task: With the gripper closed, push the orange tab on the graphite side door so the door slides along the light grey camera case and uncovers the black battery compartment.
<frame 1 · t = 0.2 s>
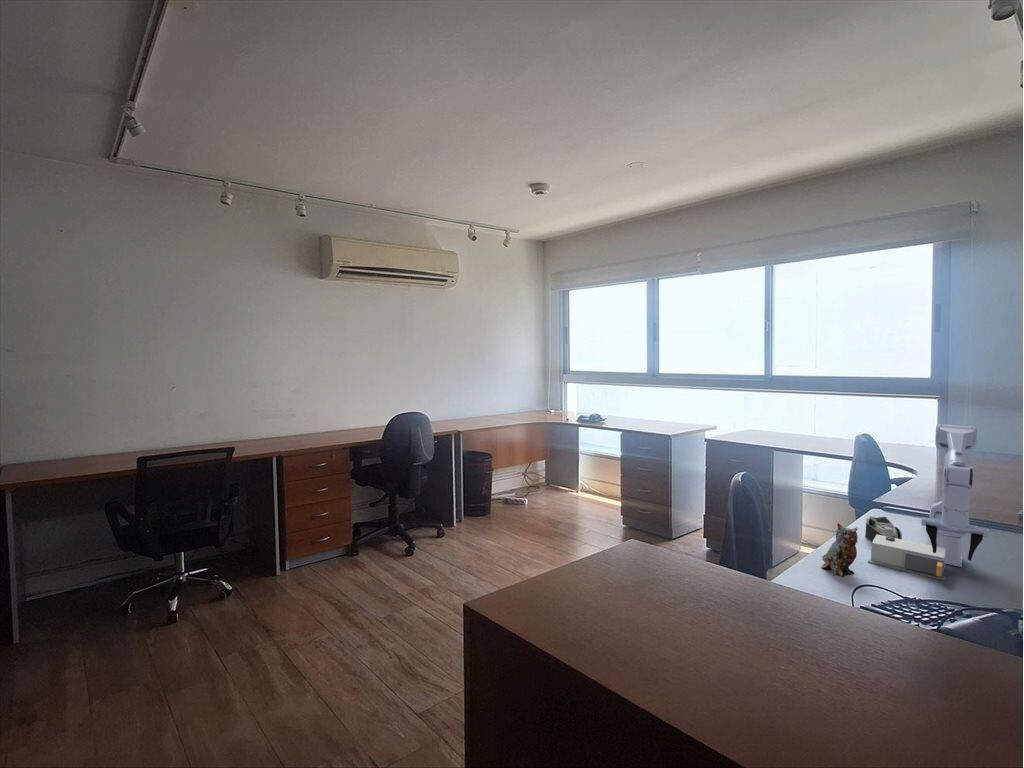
hand: (951, 555, 153), 10 cm above the table, tool pointing down, fingers open, 7 cm apart
camera case: (907, 563, 170), on the table
figurine: (839, 572, 164), on the table
side door: (923, 566, 161), point 3 cm above the table, slide at 0.0 cm
camera: (885, 546, 186), on the table
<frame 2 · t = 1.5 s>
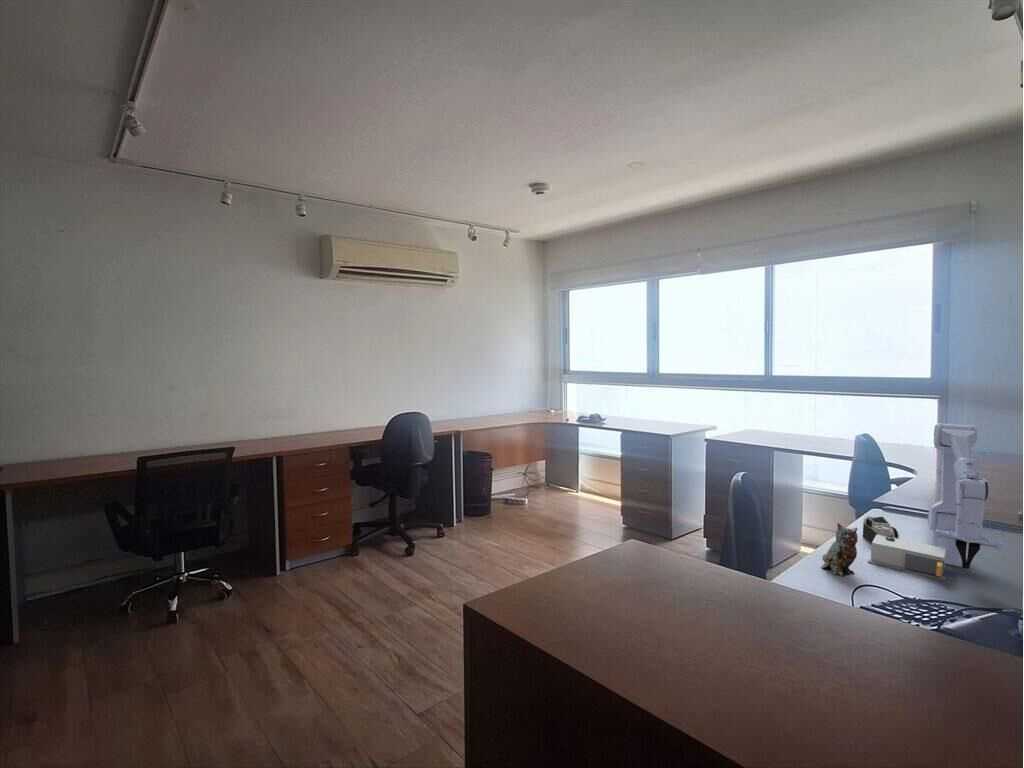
hand: (965, 567, 154), 6 cm above the table, tool pointing down, fingers closed
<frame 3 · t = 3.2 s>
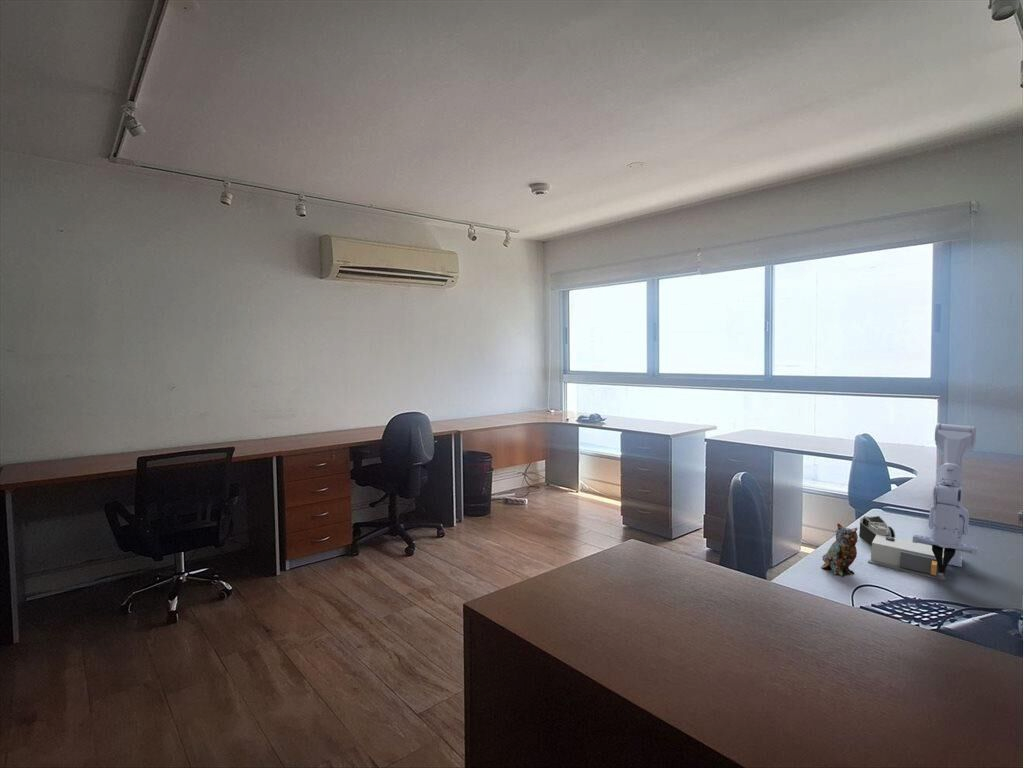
hand: (941, 572, 158), 3 cm above the table, tool pointing down, fingers closed
side door: (918, 564, 162), point 3 cm above the table, slide at 1.2 cm, touching gripper
camera: (878, 546, 186), on the table
everything else where it was.
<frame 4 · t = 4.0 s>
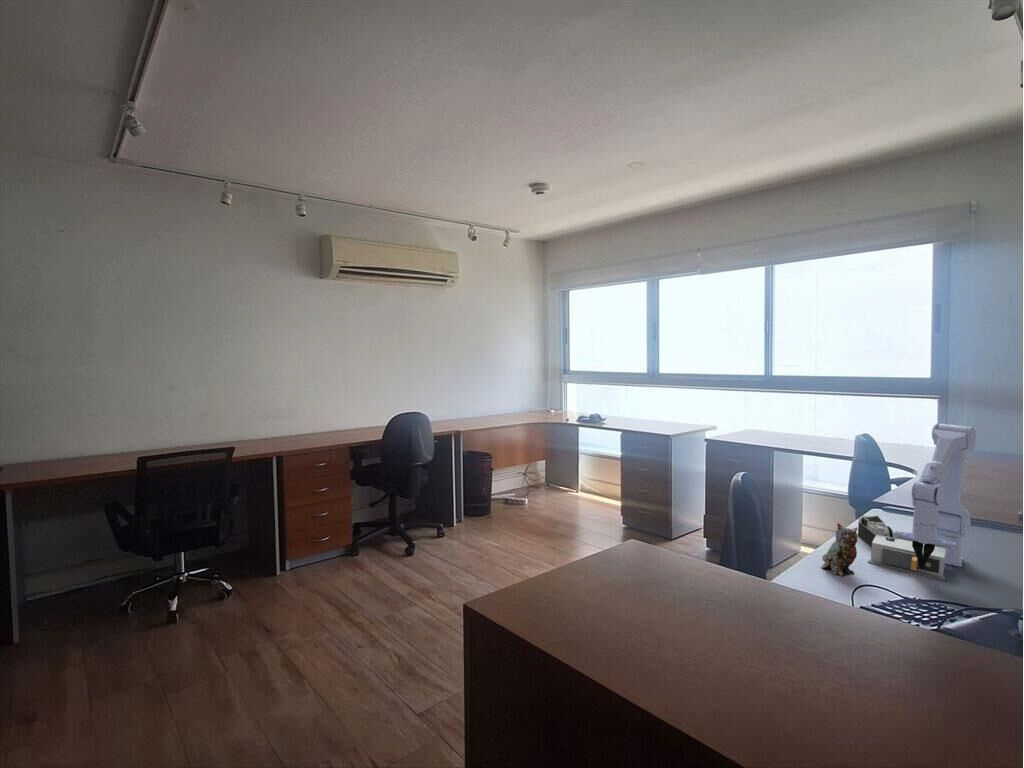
hand: (921, 567, 161), 3 cm above the table, tool pointing down, fingers closed
side door: (899, 560, 165), point 3 cm above the table, slide at 5.9 cm, touching gripper
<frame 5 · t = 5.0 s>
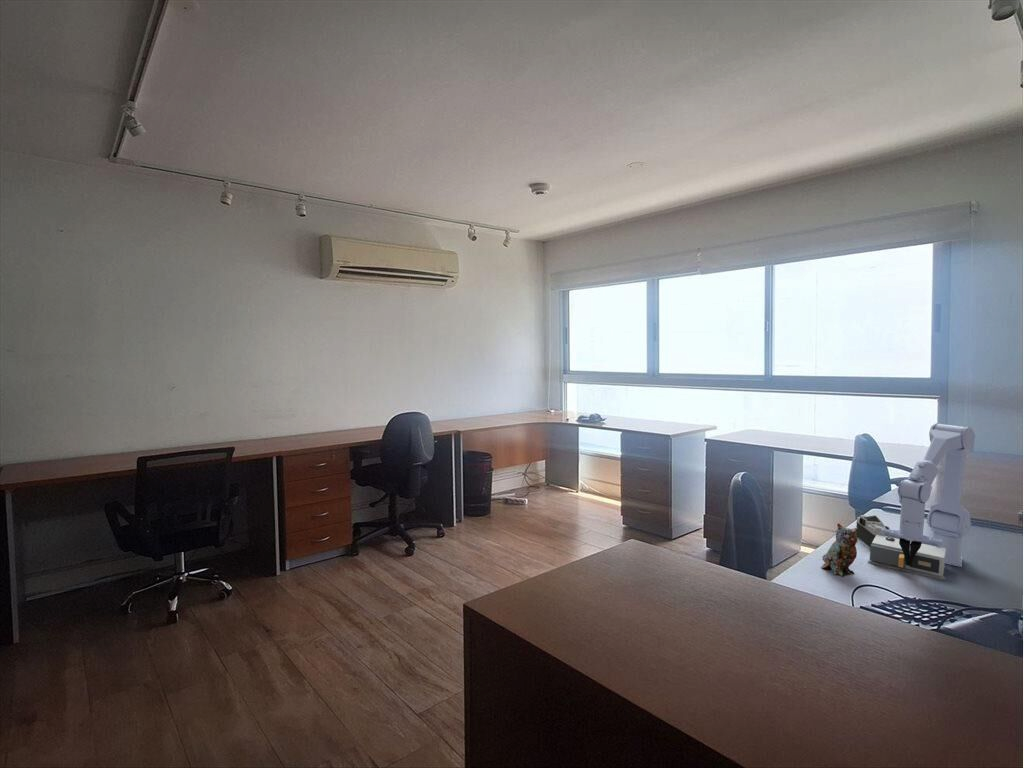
hand: (908, 564, 163), 3 cm above the table, tool pointing down, fingers closed
side door: (887, 557, 167), point 3 cm above the table, slide at 9.0 cm, touching gripper
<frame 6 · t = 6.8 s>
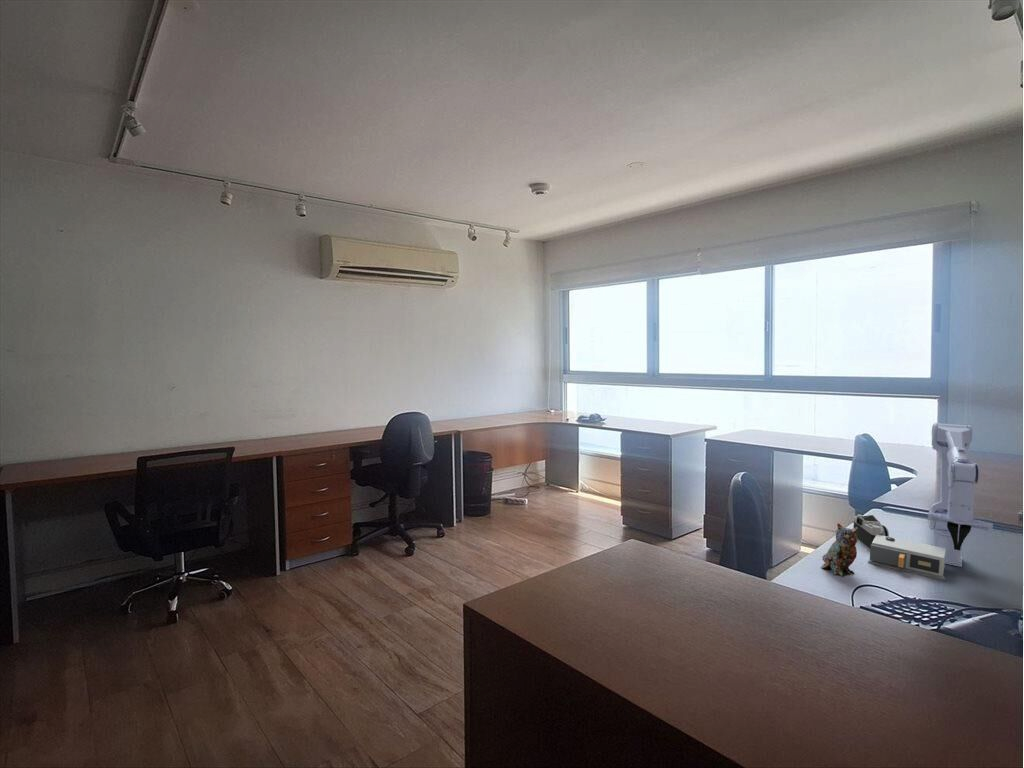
hand: (957, 549, 158), 9 cm above the table, tool pointing down, fingers closed
side door: (887, 557, 167), point 3 cm above the table, slide at 9.0 cm
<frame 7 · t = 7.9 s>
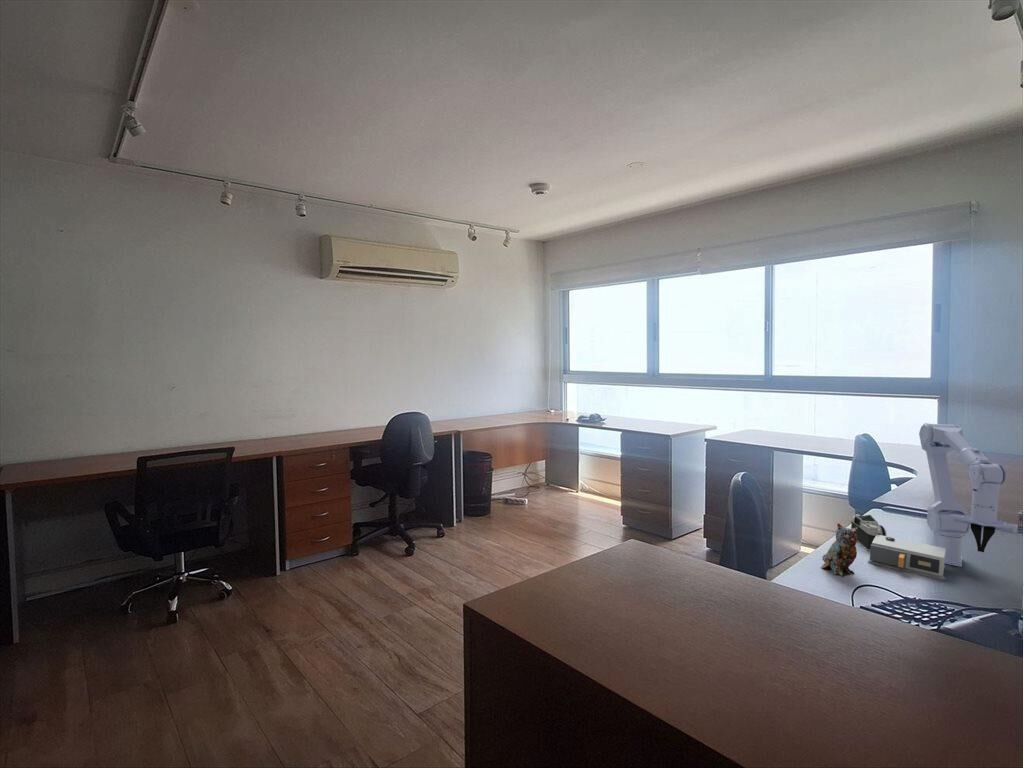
hand: (980, 550, 157), 9 cm above the table, tool pointing down, fingers closed
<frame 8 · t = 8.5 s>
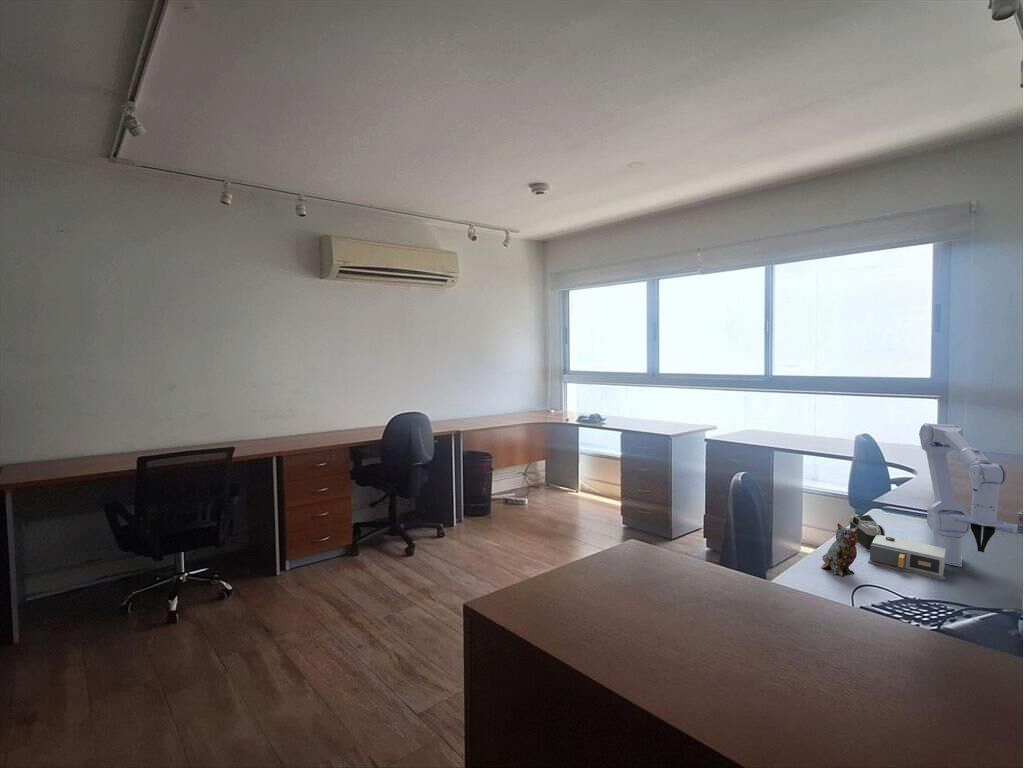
hand: (980, 550, 157), 9 cm above the table, tool pointing down, fingers closed
at the end: side door slide at 9.0 cm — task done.
